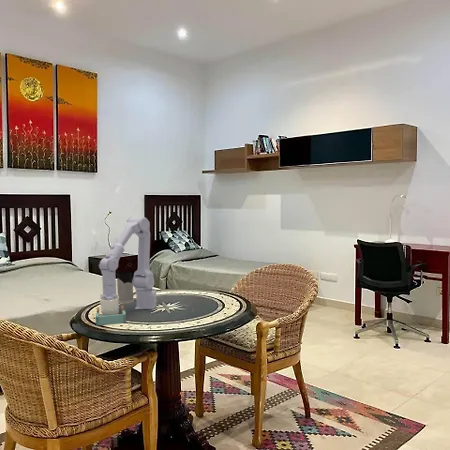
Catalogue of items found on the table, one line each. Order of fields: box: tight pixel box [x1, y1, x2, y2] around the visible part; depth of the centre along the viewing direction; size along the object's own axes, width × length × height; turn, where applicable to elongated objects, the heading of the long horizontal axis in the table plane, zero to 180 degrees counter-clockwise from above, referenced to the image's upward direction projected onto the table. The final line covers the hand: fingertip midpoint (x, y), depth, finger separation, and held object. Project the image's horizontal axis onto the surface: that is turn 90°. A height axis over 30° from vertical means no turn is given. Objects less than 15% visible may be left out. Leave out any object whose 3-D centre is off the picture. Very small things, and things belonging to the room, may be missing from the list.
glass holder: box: [116, 271, 136, 305], centre depth 232 cm, size 9×14×15 cm, turn 127°
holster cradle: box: [96, 304, 125, 314], centre depth 206 cm, size 12×8×3 cm, turn 105°
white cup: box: [99, 293, 120, 316], centre depth 195 cm, size 8×8×10 cm
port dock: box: [95, 309, 127, 326], centre depth 193 cm, size 12×8×4 cm, turn 105°
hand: (110, 314), depth 199 cm, fingers closed, pressing on white cup
